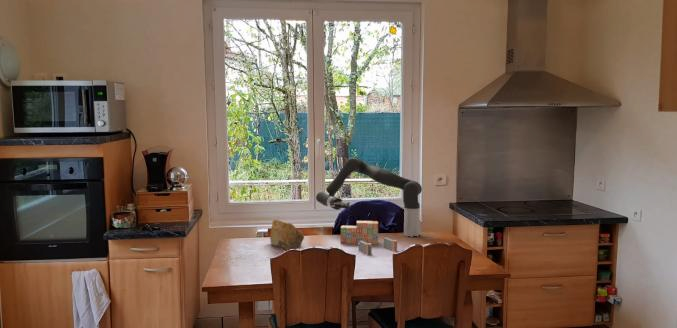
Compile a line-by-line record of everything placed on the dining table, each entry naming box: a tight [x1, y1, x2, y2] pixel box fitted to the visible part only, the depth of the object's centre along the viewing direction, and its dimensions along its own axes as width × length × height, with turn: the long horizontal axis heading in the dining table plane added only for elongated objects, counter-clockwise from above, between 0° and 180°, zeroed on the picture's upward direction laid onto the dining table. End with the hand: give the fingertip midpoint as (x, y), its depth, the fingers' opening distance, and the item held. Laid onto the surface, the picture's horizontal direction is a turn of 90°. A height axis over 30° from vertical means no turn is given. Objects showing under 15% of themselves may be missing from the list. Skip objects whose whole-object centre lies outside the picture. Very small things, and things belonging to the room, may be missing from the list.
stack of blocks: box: [340, 220, 379, 245], centre depth 262 cm, size 21×6×12 cm, turn 86°
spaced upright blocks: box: [358, 237, 398, 256], centre depth 245 cm, size 18×10×6 cm, turn 117°
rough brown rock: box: [269, 219, 305, 251], centre depth 252 cm, size 23×17×15 cm
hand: (347, 207), depth 274 cm, fingers closed
